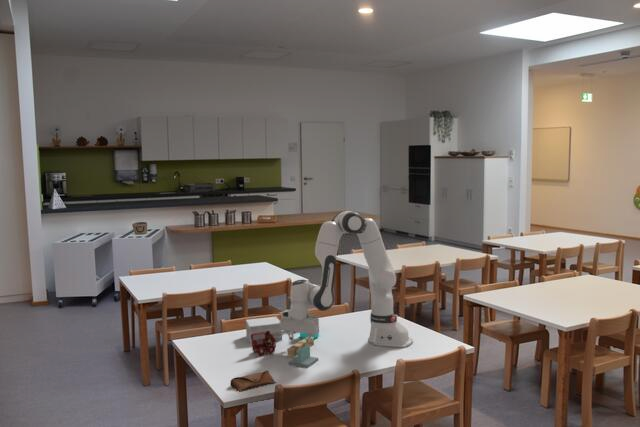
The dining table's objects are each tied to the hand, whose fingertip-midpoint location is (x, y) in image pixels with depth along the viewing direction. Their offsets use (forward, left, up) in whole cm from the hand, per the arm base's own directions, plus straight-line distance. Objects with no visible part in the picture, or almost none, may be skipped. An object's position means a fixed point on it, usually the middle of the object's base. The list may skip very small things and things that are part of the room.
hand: (299, 341), depth 281 cm
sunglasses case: (-3, +45, -5) cm, 45 cm away
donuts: (+5, -20, -5) cm, 21 cm away
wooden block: (+18, -30, -5) cm, 36 cm away
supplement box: (+26, -9, -5) cm, 29 cm away
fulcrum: (-10, +14, -5) cm, 17 cm away
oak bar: (-1, 0, -5) cm, 5 cm away
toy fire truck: (+14, +10, -5) cm, 18 cm away
